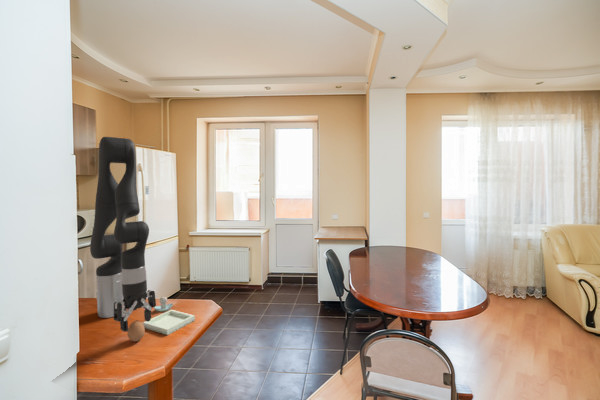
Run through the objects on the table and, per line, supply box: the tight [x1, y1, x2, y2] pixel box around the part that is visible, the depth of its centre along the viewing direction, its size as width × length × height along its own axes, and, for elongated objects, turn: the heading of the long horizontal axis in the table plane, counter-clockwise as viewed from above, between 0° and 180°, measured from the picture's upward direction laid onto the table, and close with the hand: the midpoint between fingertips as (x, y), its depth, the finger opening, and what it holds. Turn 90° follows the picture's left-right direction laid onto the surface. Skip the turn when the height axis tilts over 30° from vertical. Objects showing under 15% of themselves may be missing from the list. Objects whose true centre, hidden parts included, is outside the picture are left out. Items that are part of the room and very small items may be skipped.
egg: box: [126, 320, 146, 342], centre depth 109 cm, size 5×5×7 cm
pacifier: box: [153, 296, 174, 313], centre depth 135 cm, size 7×6×6 cm
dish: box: [142, 309, 196, 336], centre depth 122 cm, size 13×13×2 cm
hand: (136, 325), depth 109 cm, fingers open, 8 cm apart
